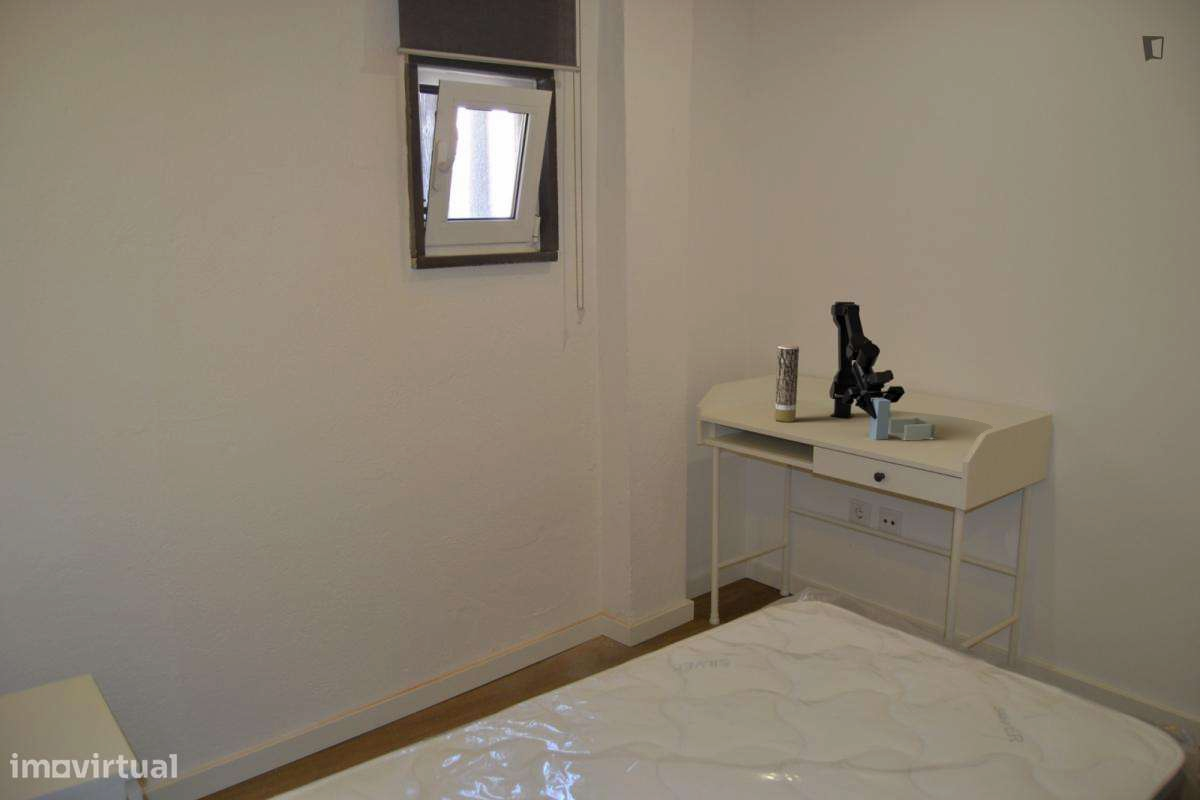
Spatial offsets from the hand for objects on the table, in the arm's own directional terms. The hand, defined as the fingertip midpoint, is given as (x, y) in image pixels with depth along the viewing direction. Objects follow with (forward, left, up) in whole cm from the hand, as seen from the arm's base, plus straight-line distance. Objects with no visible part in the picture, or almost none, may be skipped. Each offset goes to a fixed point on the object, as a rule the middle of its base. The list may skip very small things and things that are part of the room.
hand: (882, 418), depth 264 cm
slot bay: (-9, +7, -7) cm, 13 cm away
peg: (-1, -1, -7) cm, 7 cm away
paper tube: (-10, -34, -7) cm, 36 cm away
